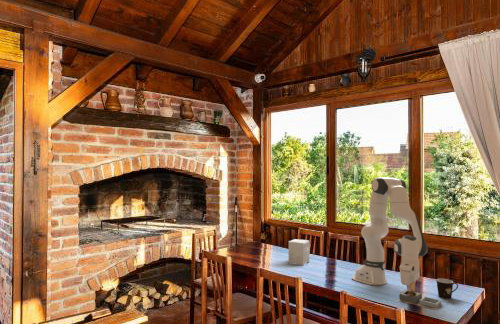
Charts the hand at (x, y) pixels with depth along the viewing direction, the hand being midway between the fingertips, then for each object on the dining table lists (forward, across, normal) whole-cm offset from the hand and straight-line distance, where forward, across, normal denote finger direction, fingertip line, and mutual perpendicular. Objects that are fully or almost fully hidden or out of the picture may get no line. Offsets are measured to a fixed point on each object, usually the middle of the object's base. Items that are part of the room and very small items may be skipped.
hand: (410, 289), depth 201 cm
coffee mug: (+7, -20, +14) cm, 25 cm away
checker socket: (+6, 0, 0) cm, 6 cm away
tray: (+6, 0, +10) cm, 12 cm away
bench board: (+7, 0, +5) cm, 8 cm away
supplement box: (+6, -28, -96) cm, 100 cm away
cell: (+4, 0, 0) cm, 4 cm away
